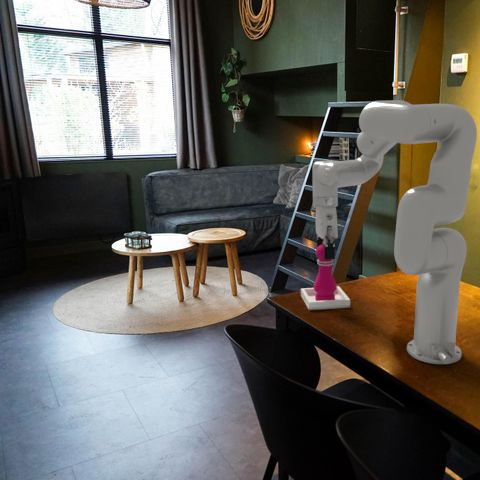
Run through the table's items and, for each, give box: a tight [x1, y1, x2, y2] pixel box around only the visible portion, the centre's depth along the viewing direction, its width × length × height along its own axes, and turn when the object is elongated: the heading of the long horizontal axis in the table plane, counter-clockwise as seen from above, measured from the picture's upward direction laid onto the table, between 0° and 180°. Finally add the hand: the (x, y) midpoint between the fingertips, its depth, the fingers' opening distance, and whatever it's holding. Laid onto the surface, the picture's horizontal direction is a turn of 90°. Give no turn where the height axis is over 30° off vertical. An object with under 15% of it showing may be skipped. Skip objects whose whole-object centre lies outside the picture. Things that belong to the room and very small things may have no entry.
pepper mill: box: [313, 240, 338, 301], centre depth 156 cm, size 7×7×20 cm
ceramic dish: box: [300, 285, 351, 311], centre depth 158 cm, size 13×13×2 cm
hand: (325, 255), depth 154 cm, fingers open, 9 cm apart
